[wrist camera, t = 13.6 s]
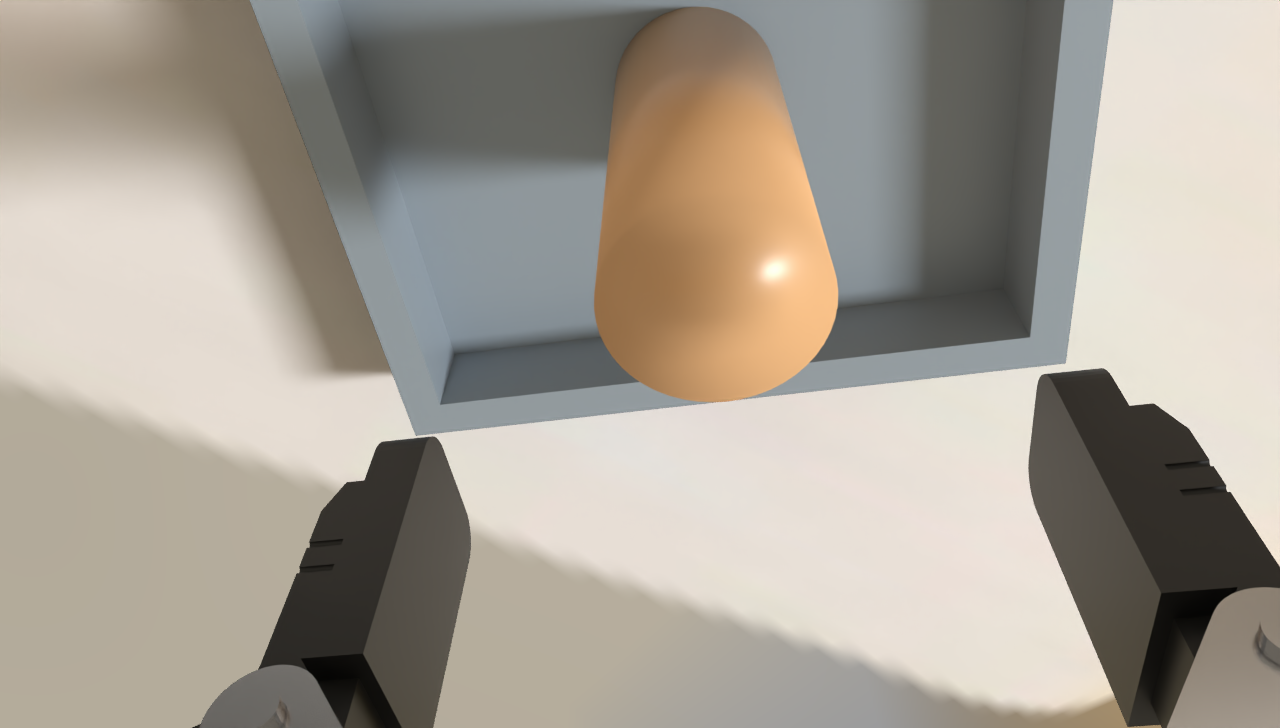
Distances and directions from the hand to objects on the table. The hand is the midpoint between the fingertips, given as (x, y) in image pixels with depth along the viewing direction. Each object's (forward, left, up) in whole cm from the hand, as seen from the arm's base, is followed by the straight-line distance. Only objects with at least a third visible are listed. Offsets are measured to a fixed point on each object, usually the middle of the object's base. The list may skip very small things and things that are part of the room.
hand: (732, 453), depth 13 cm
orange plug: (0, 0, -14) cm, 14 cm away
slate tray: (0, 0, -14) cm, 14 cm away
